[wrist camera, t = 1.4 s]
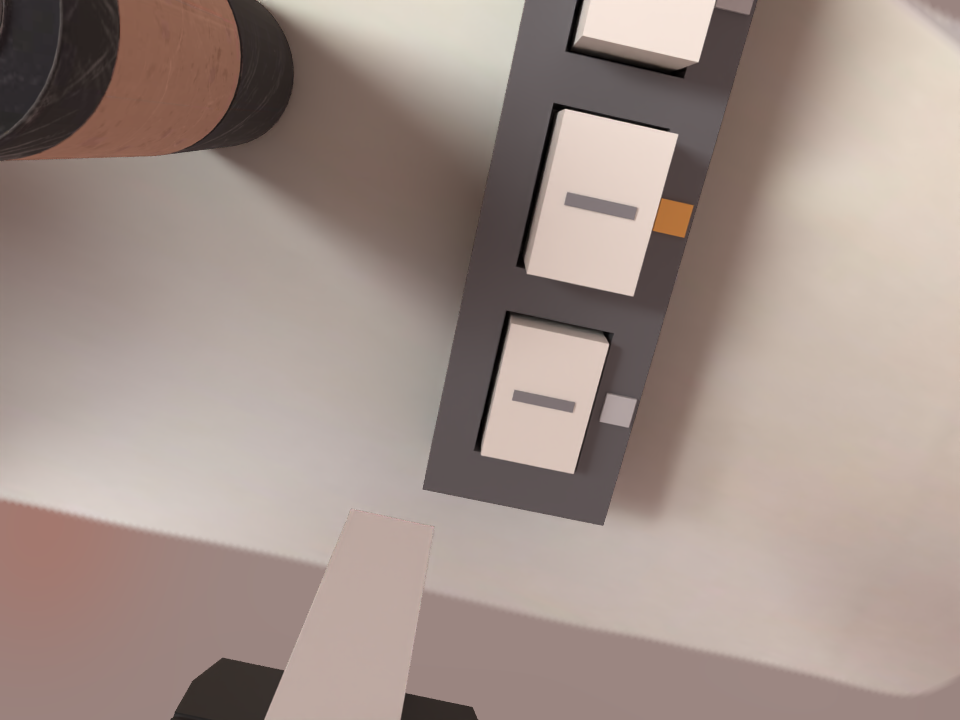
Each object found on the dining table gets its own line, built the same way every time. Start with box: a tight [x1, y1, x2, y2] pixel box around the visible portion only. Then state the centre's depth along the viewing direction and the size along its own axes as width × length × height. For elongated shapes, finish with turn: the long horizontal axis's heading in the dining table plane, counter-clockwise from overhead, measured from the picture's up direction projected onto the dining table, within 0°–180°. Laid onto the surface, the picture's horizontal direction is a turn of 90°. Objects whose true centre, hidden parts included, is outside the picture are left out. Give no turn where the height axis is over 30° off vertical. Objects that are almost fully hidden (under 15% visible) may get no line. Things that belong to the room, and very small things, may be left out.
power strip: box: [423, 0, 757, 526], centre depth 33 cm, size 9×36×5 cm, turn 168°
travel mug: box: [0, 0, 293, 161], centre depth 26 cm, size 8×8×20 cm
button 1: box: [481, 311, 609, 474], centre depth 36 cm, size 4×6×5 cm
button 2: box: [522, 109, 678, 296], centre depth 31 cm, size 4×6×5 cm
